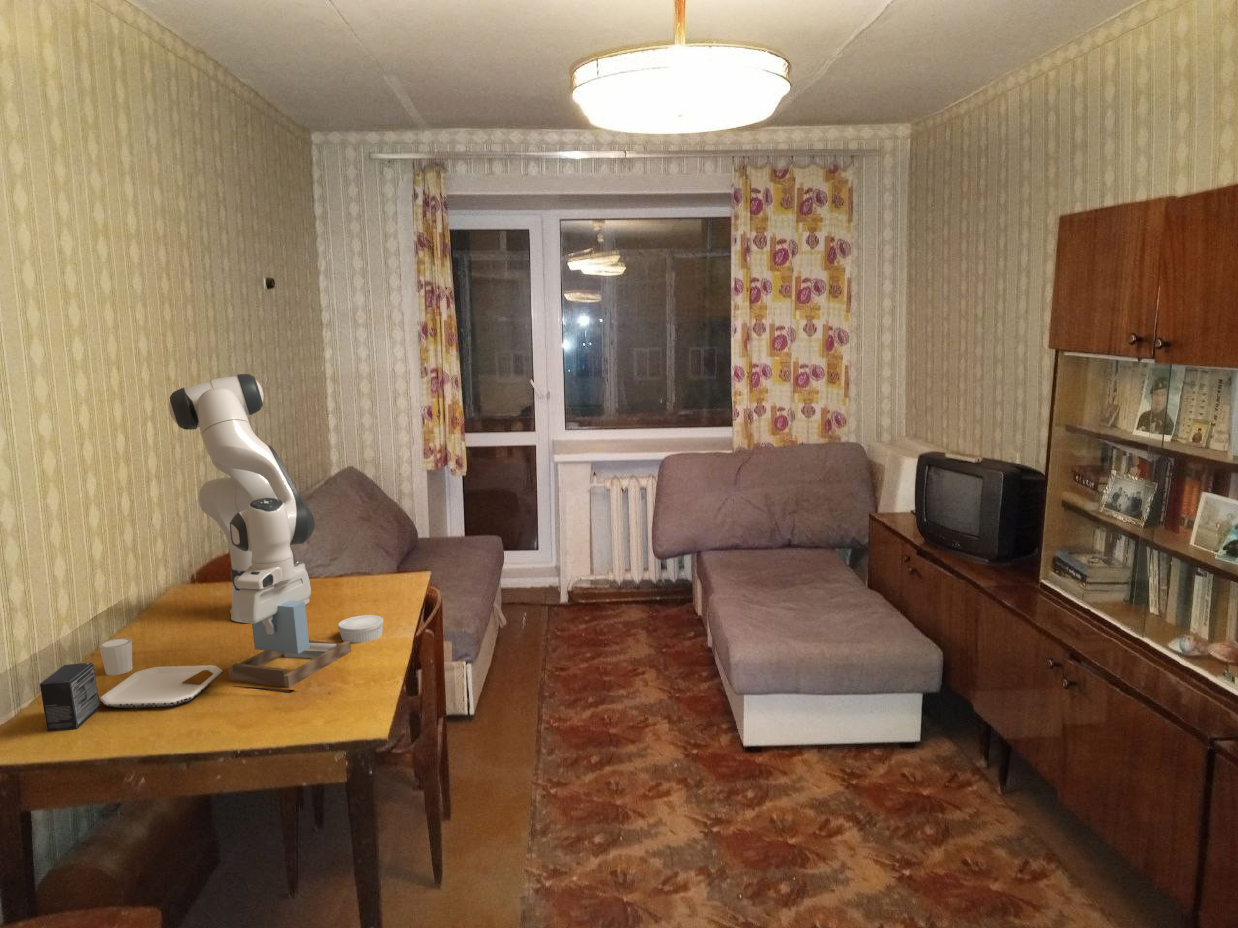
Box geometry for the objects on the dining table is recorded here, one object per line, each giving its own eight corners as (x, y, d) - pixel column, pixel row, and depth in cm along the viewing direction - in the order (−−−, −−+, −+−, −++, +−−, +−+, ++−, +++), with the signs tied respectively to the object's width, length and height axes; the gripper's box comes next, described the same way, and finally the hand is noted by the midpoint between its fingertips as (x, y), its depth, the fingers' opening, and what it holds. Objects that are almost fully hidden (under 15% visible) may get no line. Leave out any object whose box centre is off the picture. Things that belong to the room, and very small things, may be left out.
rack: (297, 650, 232) (295, 630, 231) (353, 656, 226) (351, 636, 226) (230, 685, 211) (227, 664, 210) (289, 693, 205) (287, 671, 204)
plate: (143, 675, 220) (142, 666, 220) (229, 673, 219) (228, 664, 219) (92, 713, 200) (90, 703, 199) (187, 710, 199) (186, 700, 199)
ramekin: (352, 633, 244) (350, 613, 243) (392, 634, 241) (391, 614, 240) (331, 648, 233) (329, 628, 232) (373, 650, 230) (371, 629, 230)
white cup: (141, 666, 225) (138, 638, 224) (118, 677, 219) (114, 648, 218) (119, 664, 228) (116, 636, 226) (95, 674, 221) (92, 646, 220)
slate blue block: (266, 643, 219) (261, 597, 217) (309, 647, 215) (304, 601, 213) (254, 649, 215) (249, 603, 213) (298, 653, 211) (293, 607, 209)
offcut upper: (295, 649, 229) (294, 642, 228) (337, 651, 226) (336, 643, 226) (284, 657, 224) (283, 649, 223) (326, 659, 222) (326, 651, 221)
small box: (70, 710, 201) (63, 663, 199) (101, 707, 202) (95, 661, 200) (44, 731, 191) (37, 682, 189) (77, 729, 191) (71, 680, 190)
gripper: (292, 557, 222) (298, 613, 225) (230, 582, 203) (237, 643, 206) (314, 558, 220) (320, 615, 222) (254, 584, 201) (260, 646, 203)
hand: (279, 629), depth 214 cm, fingers closed on slate blue block, 4 cm apart
